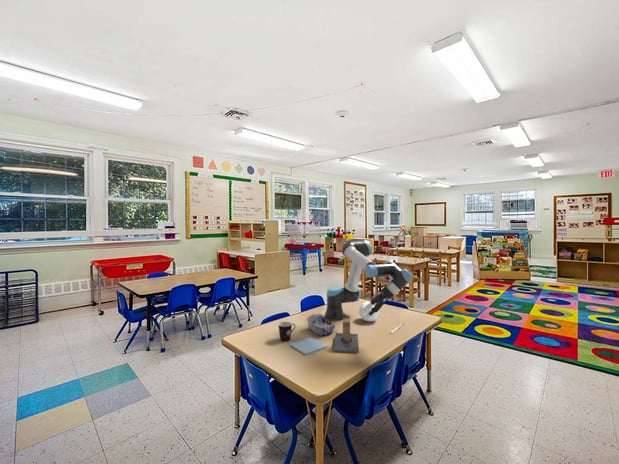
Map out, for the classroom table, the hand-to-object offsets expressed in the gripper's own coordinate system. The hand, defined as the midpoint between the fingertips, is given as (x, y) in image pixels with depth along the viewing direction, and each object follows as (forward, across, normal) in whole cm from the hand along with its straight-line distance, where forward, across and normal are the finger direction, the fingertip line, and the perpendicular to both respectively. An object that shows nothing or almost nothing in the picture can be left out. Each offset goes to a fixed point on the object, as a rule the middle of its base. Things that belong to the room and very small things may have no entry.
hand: (364, 314), depth 174 cm
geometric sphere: (+10, +45, -17) cm, 49 cm away
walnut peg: (+21, 0, -6) cm, 22 cm away
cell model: (+34, +20, +7) cm, 40 cm away
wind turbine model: (-3, +36, -31) cm, 48 cm away
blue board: (+37, -5, +10) cm, 39 cm away
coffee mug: (+48, +4, +21) cm, 52 cm away
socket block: (+21, 0, -6) cm, 22 cm away
